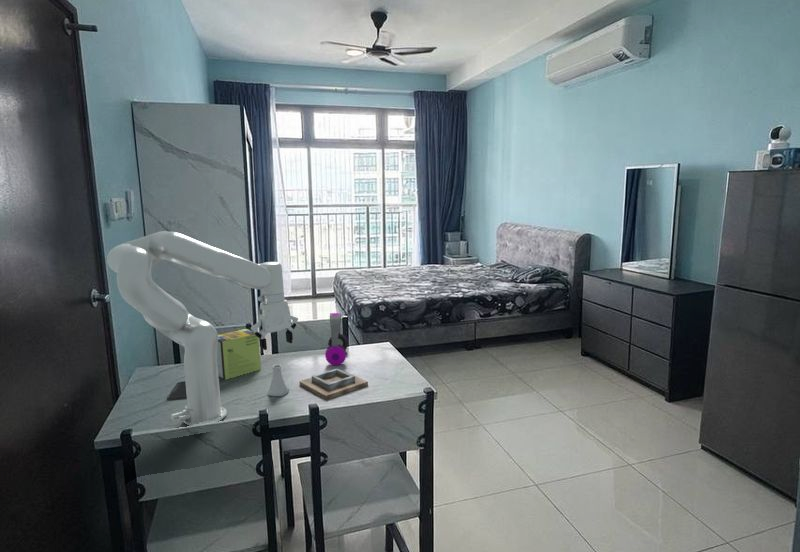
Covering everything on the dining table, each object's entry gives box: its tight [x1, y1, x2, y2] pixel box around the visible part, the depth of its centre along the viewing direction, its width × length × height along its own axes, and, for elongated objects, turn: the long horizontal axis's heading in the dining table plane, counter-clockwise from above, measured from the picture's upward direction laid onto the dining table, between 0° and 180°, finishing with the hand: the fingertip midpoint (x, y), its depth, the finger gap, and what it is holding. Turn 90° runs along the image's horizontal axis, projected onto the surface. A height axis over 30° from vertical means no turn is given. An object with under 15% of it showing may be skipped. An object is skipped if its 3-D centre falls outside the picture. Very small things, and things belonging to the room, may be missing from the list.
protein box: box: [217, 328, 262, 381], centre depth 183 cm, size 10×15×16 cm
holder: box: [298, 368, 369, 401], centre depth 169 cm, size 18×18×4 cm
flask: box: [267, 364, 290, 397], centre depth 162 cm, size 7×7×10 cm
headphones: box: [324, 312, 349, 366], centre depth 197 cm, size 21×9×20 cm, turn 4°
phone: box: [166, 380, 187, 400], centre depth 166 cm, size 8×1×15 cm
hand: (276, 345), depth 161 cm, fingers open, 9 cm apart
